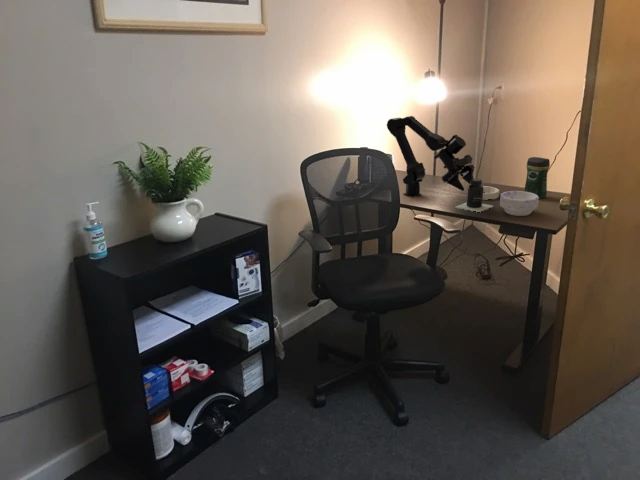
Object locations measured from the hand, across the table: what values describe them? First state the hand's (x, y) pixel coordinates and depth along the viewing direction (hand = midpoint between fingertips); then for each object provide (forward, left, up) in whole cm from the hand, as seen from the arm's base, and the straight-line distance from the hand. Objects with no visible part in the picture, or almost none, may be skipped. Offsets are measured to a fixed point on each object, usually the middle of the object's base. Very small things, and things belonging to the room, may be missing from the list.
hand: (469, 188), depth 232 cm
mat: (+3, +1, -8) cm, 9 cm away
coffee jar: (+8, +36, -8) cm, 37 cm away
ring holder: (-8, +19, -8) cm, 22 cm away
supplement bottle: (+3, +1, -8) cm, 8 cm away
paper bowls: (+20, +9, -8) cm, 23 cm away
